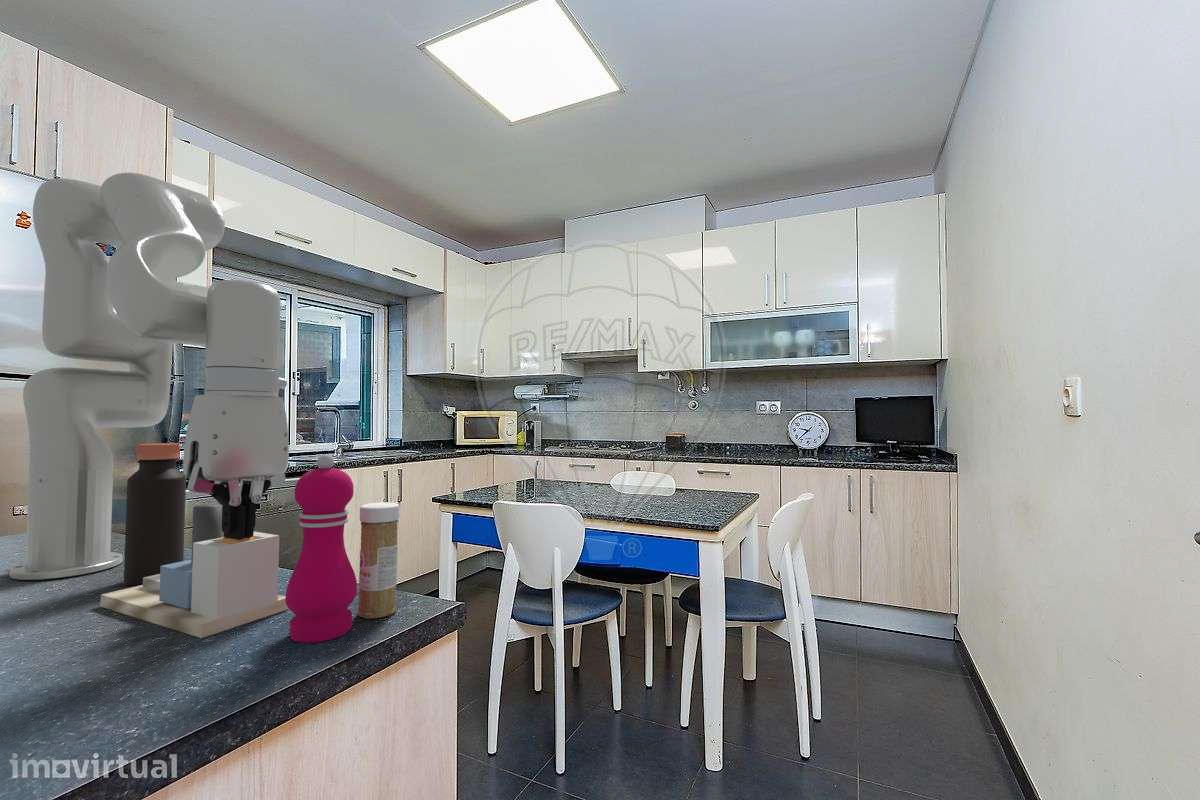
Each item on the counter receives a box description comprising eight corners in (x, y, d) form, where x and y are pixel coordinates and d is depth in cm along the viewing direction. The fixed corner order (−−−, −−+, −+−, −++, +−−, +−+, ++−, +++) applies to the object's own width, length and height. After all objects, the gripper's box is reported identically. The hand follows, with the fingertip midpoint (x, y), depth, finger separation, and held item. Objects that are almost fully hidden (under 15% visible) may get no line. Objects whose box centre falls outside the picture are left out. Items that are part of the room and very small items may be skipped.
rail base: (100, 606, 68) (101, 584, 68) (188, 584, 77) (189, 565, 77) (201, 638, 59) (202, 613, 59) (288, 609, 68) (289, 587, 68)
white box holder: (191, 612, 62) (193, 542, 63) (252, 594, 69) (254, 531, 69) (216, 619, 60) (218, 547, 60) (277, 600, 66) (279, 535, 67)
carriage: (159, 600, 65) (162, 507, 66) (220, 584, 72) (223, 500, 72) (187, 608, 63) (190, 512, 63) (248, 591, 69) (251, 503, 69)
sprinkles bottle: (350, 613, 66) (353, 504, 67) (385, 604, 70) (387, 500, 70) (368, 623, 63) (371, 508, 64) (404, 612, 67) (406, 504, 67)
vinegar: (112, 583, 77) (117, 444, 78) (164, 571, 84) (169, 442, 84) (141, 589, 75) (147, 445, 76) (193, 576, 81) (197, 443, 82)
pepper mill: (327, 648, 56) (331, 457, 57) (268, 641, 58) (273, 455, 59) (369, 622, 64) (373, 453, 64) (316, 617, 65) (320, 451, 66)
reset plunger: (215, 572, 64) (216, 538, 64) (241, 566, 67) (242, 533, 67) (231, 575, 63) (232, 540, 63) (257, 569, 65) (258, 535, 65)
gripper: (281, 388, 74) (278, 523, 73) (153, 381, 60) (147, 547, 59) (319, 387, 70) (315, 529, 70) (191, 379, 57) (186, 555, 56)
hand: (238, 537), depth 65 cm, fingers closed
